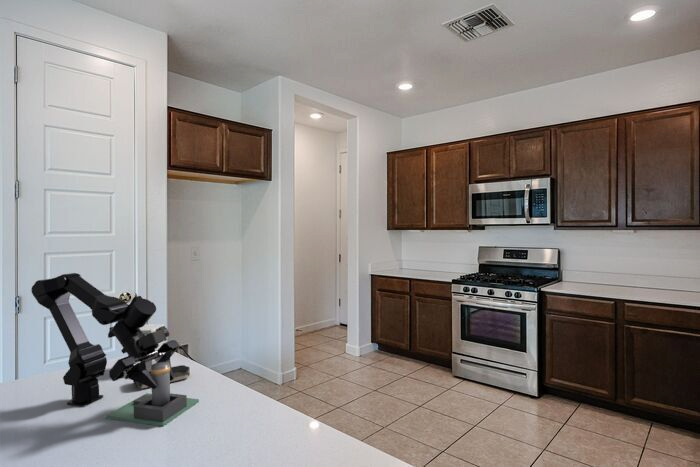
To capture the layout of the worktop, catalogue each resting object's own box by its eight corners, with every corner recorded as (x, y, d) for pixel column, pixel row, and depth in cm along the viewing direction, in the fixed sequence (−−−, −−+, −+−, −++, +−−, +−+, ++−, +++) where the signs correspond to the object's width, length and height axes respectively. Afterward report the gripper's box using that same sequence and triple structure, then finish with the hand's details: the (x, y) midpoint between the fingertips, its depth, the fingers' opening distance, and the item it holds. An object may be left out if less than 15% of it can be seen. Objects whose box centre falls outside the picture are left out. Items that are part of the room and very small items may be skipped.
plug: (148, 415, 103) (147, 367, 103) (156, 407, 108) (156, 361, 108) (165, 415, 103) (165, 367, 103) (173, 407, 107) (173, 361, 108)
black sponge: (135, 393, 120) (135, 381, 120) (132, 384, 127) (131, 372, 127) (191, 380, 130) (191, 369, 130) (185, 372, 137) (185, 362, 137)
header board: (106, 418, 104) (105, 404, 104) (146, 395, 117) (146, 383, 117) (163, 426, 99) (163, 411, 99) (198, 402, 112) (198, 388, 112)
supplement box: (167, 364, 144) (165, 323, 144) (152, 373, 135) (151, 330, 135) (143, 364, 145) (142, 323, 145) (127, 373, 136) (126, 330, 136)
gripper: (115, 328, 97) (151, 377, 94) (173, 312, 115) (205, 353, 111) (94, 356, 100) (127, 406, 97) (153, 336, 118) (184, 377, 114)
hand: (164, 383), depth 105 cm, fingers open, 5 cm apart
